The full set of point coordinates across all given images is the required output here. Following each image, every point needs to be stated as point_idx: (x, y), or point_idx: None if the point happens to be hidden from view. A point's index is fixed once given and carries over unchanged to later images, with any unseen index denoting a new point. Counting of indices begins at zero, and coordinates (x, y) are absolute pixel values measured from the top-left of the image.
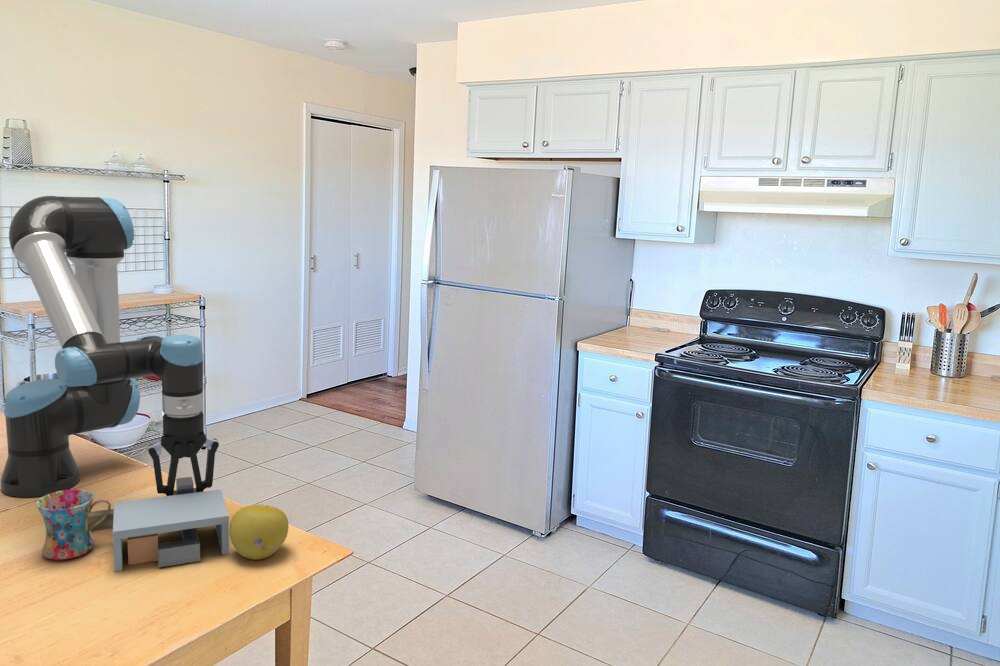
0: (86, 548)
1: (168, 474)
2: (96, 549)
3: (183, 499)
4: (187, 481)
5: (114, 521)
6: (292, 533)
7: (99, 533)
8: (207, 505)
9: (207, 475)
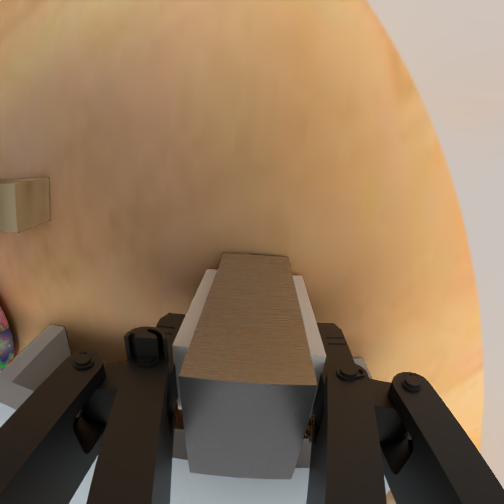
0: (7, 364)
1: (104, 437)
2: (23, 338)
3: (221, 497)
4: (262, 447)
5: None
6: (471, 422)
7: (8, 246)
8: None
9: (393, 492)
